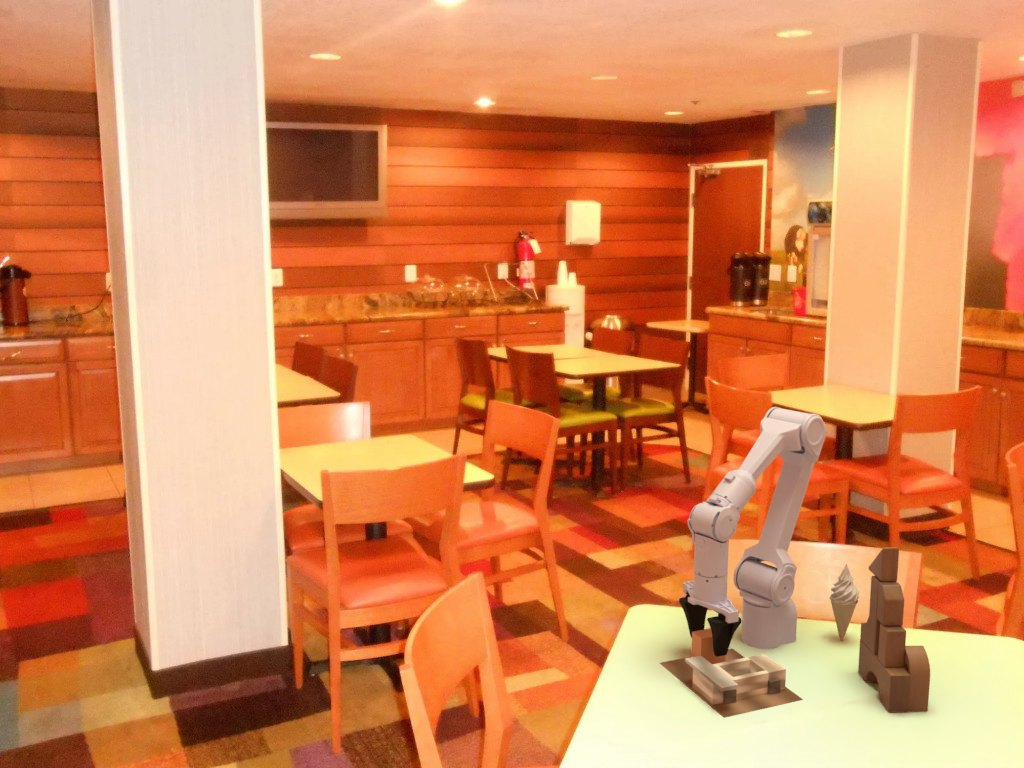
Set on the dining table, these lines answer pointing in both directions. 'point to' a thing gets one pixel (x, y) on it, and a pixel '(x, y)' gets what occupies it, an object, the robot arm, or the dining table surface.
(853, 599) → the ice cream cone
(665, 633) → the dining table surface
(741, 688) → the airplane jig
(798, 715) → the dining table surface
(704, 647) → the orange upright block
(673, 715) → the dining table surface
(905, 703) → the wooden toy
